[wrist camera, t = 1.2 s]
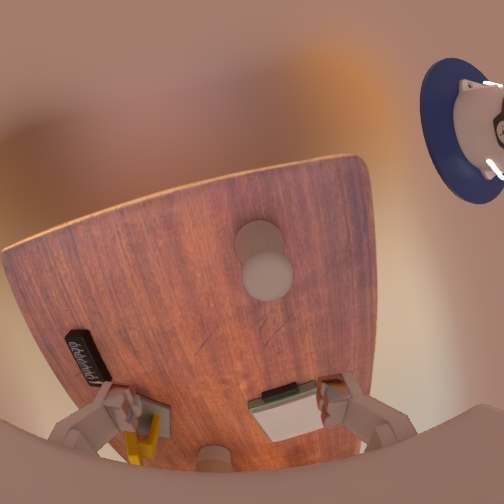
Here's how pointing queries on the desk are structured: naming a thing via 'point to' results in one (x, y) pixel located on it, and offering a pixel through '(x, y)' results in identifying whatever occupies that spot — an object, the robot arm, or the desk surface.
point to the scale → (287, 411)
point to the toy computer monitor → (148, 431)
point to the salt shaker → (263, 261)
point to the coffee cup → (214, 459)
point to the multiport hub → (87, 357)
